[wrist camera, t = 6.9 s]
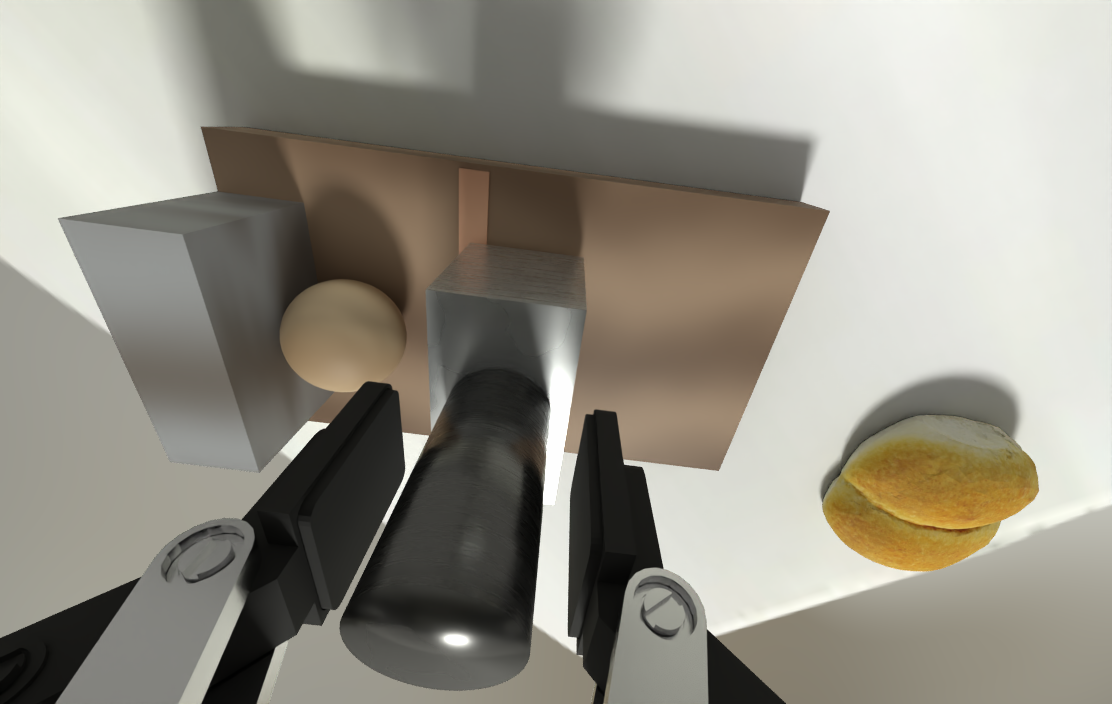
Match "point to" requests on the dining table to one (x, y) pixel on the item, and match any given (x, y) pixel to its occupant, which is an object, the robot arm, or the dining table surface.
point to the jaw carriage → (476, 475)
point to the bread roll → (929, 491)
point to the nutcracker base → (408, 270)
